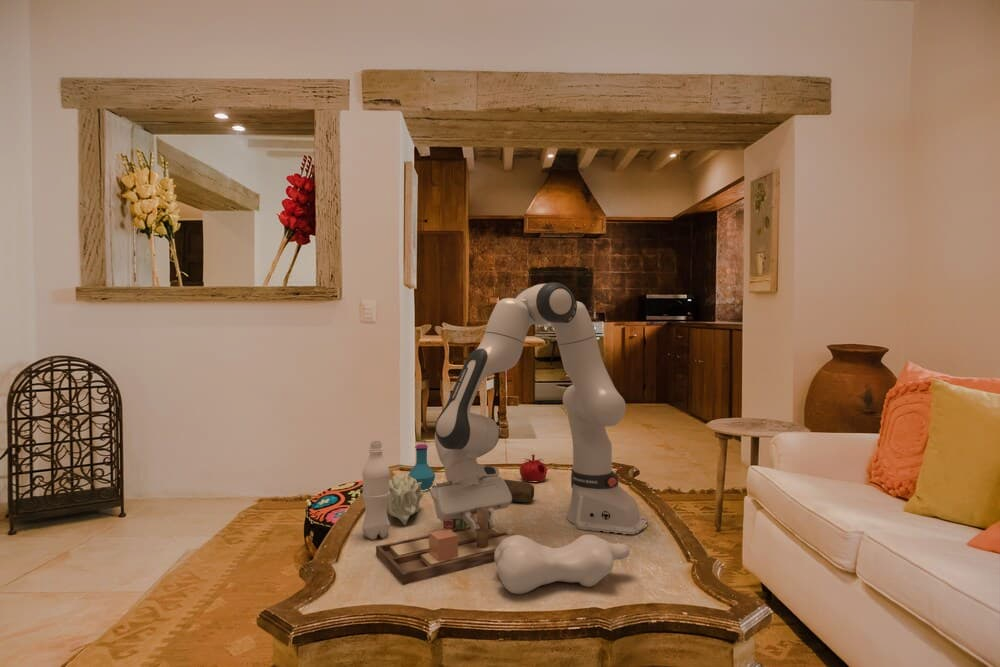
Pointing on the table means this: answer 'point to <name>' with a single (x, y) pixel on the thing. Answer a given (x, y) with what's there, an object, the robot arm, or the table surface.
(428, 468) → the perfume bottle
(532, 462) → the pomegranate
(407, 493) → the wavy plaster lump
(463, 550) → the wooden post stand
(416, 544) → the broken strip
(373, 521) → the water bottle
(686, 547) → the table surface
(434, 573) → the board
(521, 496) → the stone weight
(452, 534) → the terracotta cube
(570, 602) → the table surface
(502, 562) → the torso sculpture
